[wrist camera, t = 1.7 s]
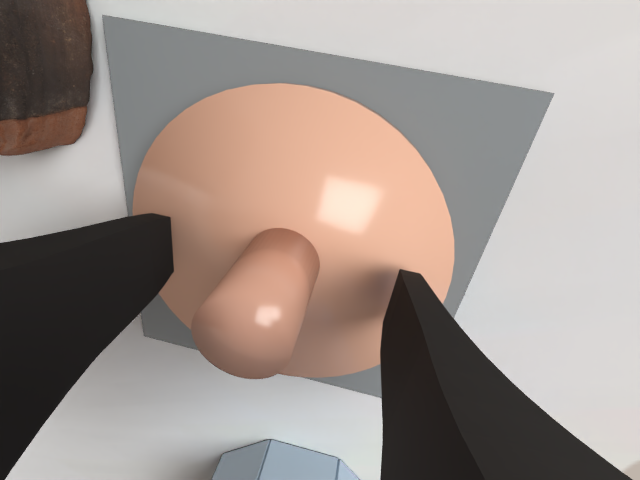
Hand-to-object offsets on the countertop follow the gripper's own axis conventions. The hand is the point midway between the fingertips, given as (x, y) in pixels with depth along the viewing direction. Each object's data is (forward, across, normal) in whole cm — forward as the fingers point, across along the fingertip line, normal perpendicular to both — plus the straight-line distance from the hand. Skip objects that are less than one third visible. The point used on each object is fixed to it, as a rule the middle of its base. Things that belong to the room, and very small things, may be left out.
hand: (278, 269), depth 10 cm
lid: (+1, 0, 0) cm, 1 cm away
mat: (+2, 0, 0) cm, 2 cm away
